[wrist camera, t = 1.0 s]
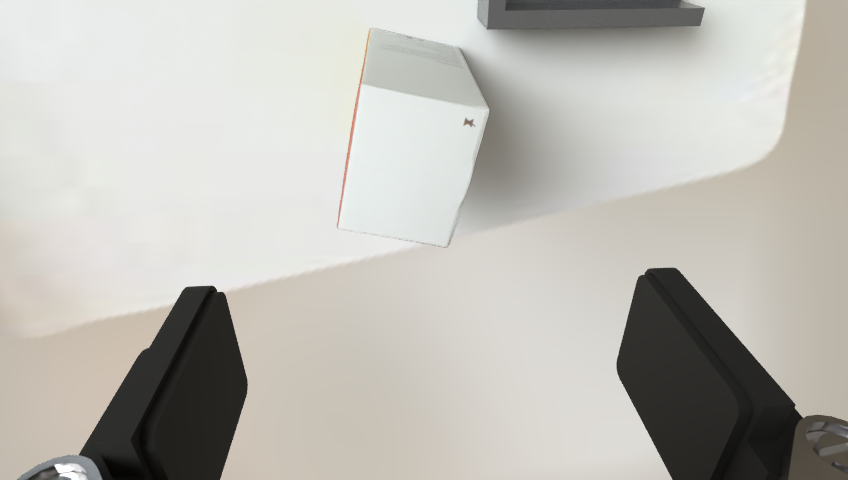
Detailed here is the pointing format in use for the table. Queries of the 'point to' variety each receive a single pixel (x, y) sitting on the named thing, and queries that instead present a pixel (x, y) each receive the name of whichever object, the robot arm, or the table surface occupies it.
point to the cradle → (587, 13)
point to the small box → (411, 140)
